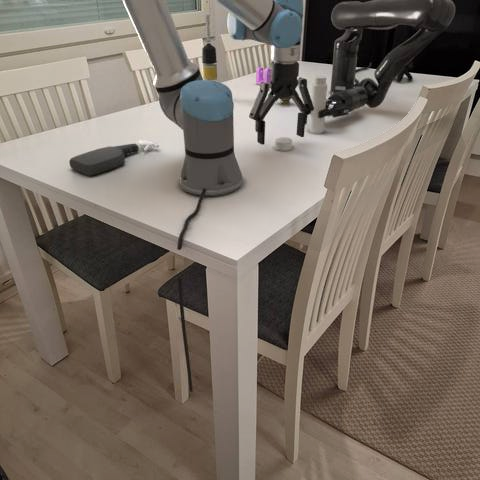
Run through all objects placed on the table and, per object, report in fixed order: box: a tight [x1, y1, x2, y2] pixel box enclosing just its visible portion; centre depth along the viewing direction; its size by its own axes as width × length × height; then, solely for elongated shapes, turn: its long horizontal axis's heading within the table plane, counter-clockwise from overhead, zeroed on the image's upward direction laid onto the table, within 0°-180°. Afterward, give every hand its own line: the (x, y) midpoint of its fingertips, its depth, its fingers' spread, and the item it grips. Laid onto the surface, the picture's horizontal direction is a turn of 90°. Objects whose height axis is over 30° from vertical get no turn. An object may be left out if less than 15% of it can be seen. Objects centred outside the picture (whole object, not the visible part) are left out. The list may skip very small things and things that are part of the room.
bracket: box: [255, 66, 271, 86], centre depth 199 cm, size 13×6×7 cm, turn 143°
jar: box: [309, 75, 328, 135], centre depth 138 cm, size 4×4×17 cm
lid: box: [274, 136, 293, 152], centre depth 130 cm, size 5×5×2 cm
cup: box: [278, 97, 292, 106], centre depth 168 cm, size 8×7×8 cm
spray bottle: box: [68, 139, 160, 177], centre depth 124 cm, size 3×11×24 cm
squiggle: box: [396, 59, 414, 83], centre depth 198 cm, size 11×10×15 cm
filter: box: [201, 14, 218, 82], centre depth 171 cm, size 6×6×30 cm
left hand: (280, 139), depth 129 cm, fingers open, 13 cm apart
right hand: (312, 113), depth 138 cm, fingers closed on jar, 4 cm apart
